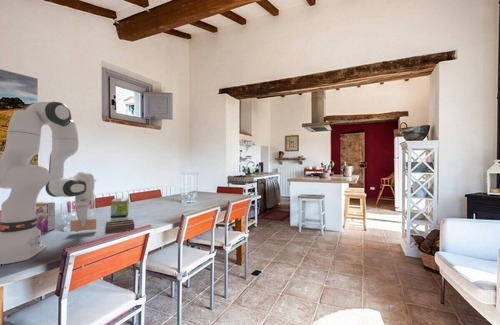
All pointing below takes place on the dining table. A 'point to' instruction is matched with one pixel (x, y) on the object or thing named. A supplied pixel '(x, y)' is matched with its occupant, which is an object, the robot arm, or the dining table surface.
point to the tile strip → (89, 225)
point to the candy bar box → (45, 215)
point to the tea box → (119, 209)
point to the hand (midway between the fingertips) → (83, 225)
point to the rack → (119, 225)
